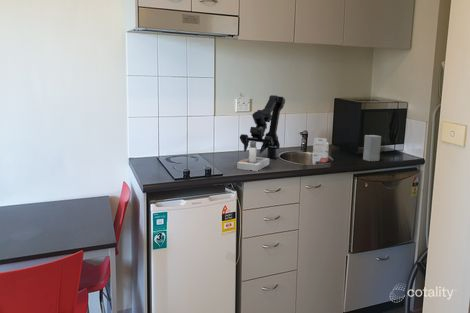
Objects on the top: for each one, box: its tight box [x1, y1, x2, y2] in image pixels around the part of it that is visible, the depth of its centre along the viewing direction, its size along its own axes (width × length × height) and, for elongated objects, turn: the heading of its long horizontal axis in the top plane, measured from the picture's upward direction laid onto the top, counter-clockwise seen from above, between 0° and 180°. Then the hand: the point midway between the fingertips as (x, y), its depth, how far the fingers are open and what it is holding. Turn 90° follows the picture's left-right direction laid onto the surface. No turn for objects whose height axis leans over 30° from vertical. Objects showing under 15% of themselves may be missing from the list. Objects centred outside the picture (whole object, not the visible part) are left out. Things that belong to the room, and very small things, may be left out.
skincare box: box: [362, 134, 382, 162], centre depth 268 cm, size 8×7×16 cm
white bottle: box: [248, 141, 257, 164], centre depth 238 cm, size 4×4×15 cm
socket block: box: [236, 156, 271, 172], centre depth 244 cm, size 20×12×4 cm, turn 156°
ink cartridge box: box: [312, 137, 330, 163], centre depth 262 cm, size 9×5×15 cm, turn 62°
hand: (252, 152), depth 237 cm, fingers open, 9 cm apart
